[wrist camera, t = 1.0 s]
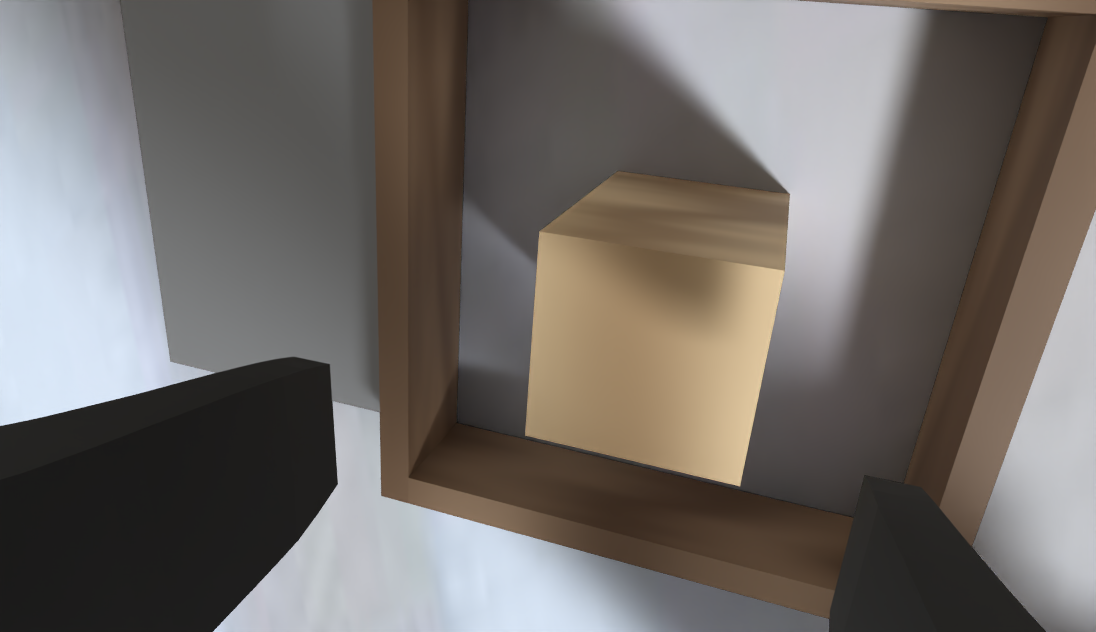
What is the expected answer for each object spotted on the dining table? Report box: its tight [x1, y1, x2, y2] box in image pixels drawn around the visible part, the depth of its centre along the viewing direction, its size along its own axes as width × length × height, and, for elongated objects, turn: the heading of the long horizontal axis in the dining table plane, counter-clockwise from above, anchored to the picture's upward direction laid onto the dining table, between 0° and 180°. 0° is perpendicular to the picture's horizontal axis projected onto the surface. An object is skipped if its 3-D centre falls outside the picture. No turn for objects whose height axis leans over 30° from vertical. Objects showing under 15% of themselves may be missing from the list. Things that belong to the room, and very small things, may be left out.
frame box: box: [372, 0, 1096, 619], centre depth 17 cm, size 14×14×3 cm
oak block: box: [525, 171, 790, 486], centre depth 15 cm, size 4×4×6 cm
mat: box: [120, 0, 380, 412], centre depth 21 cm, size 8×12×1 cm, turn 175°
